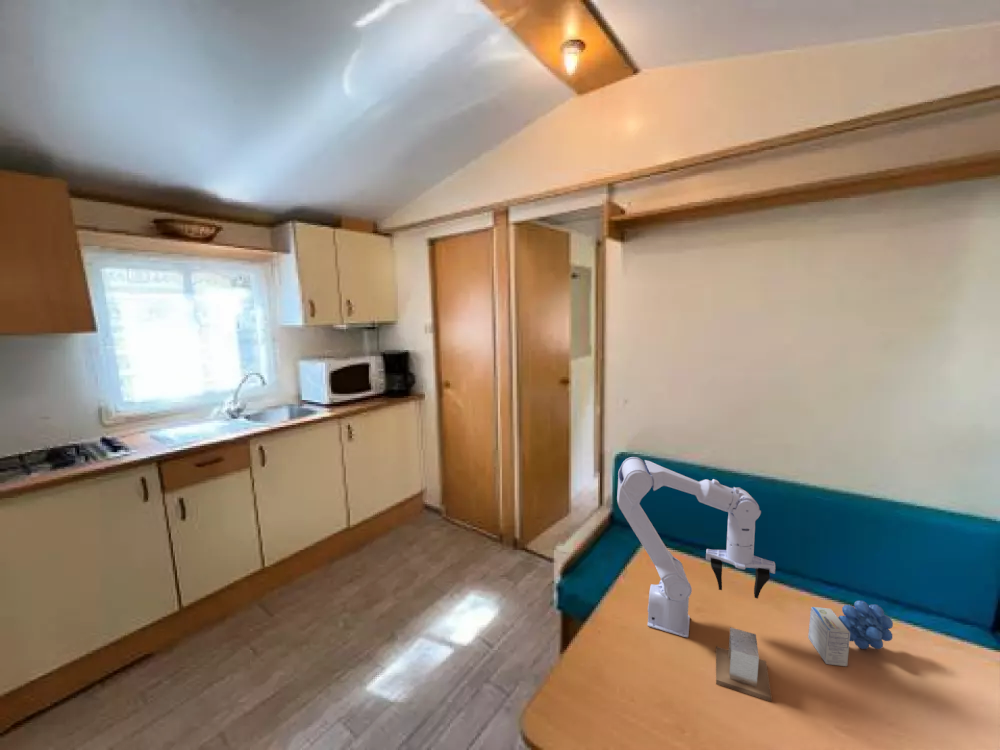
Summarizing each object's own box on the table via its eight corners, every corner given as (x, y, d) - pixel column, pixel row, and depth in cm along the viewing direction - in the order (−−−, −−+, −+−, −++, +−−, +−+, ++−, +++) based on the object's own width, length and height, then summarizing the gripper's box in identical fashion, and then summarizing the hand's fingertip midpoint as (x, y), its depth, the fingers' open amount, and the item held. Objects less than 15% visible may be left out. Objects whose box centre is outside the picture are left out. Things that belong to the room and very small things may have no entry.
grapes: (847, 661, 96) (853, 613, 94) (828, 638, 103) (833, 593, 101) (904, 665, 94) (911, 616, 93) (881, 641, 101) (887, 596, 99)
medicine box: (847, 667, 94) (851, 632, 93) (824, 664, 95) (828, 630, 94) (828, 640, 102) (831, 608, 101) (807, 638, 103) (810, 605, 101)
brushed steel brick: (729, 678, 91) (731, 649, 90) (728, 654, 97) (730, 627, 96) (756, 687, 89) (758, 657, 88) (753, 662, 95) (755, 634, 94)
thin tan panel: (716, 683, 91) (717, 667, 90) (715, 650, 100) (716, 634, 99) (771, 701, 87) (772, 684, 86) (765, 664, 95) (767, 649, 95)
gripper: (706, 542, 102) (704, 593, 104) (778, 555, 96) (774, 610, 98) (707, 528, 108) (705, 577, 110) (774, 540, 102) (771, 591, 104)
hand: (737, 591), depth 104 cm, fingers open, 7 cm apart
